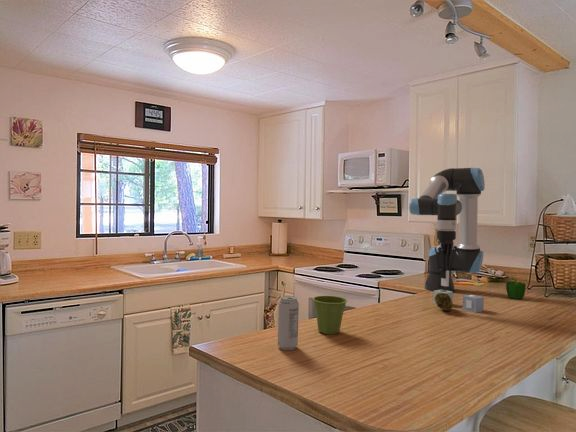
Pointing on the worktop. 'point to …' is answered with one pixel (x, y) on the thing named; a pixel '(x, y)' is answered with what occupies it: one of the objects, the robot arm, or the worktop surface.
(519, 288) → the bell pepper
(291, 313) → the energy drink can
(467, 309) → the slate blue block
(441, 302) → the potato
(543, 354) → the worktop surface
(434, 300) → the sage block
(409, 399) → the worktop surface
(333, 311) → the plant pot
